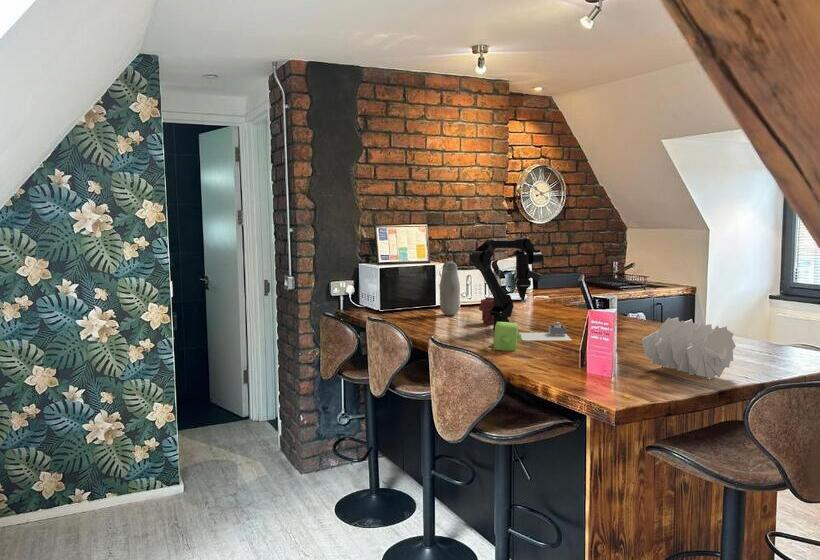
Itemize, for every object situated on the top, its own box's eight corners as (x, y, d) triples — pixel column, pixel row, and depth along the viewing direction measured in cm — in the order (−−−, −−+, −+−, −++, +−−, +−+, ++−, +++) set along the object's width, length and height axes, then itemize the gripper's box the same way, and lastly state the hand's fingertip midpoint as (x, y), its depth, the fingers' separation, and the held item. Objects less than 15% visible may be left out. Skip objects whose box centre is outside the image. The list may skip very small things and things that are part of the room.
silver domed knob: (550, 335, 274) (550, 323, 273) (548, 333, 280) (548, 321, 280) (566, 335, 273) (566, 323, 273) (563, 333, 280) (563, 321, 279)
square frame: (550, 334, 274) (550, 328, 273) (548, 331, 280) (548, 325, 280) (566, 334, 273) (566, 328, 273) (563, 331, 280) (564, 325, 279)
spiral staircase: (667, 375, 224) (732, 389, 202) (633, 359, 216) (697, 371, 194) (682, 326, 227) (748, 334, 204) (649, 308, 219) (714, 314, 197)
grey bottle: (436, 314, 338) (436, 261, 335) (454, 313, 342) (453, 260, 339) (445, 317, 329) (445, 262, 326) (463, 315, 333) (463, 261, 330)
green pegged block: (519, 355, 243) (520, 330, 242) (492, 353, 245) (494, 328, 244) (521, 344, 261) (522, 321, 259) (496, 342, 262) (497, 319, 261)
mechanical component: (498, 321, 314) (501, 325, 304) (478, 321, 315) (479, 325, 305) (498, 296, 313) (501, 299, 303) (478, 296, 313) (479, 299, 303)
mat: (522, 341, 265) (522, 340, 265) (518, 334, 282) (518, 332, 282) (572, 341, 264) (572, 340, 264) (565, 334, 281) (565, 332, 280)
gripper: (542, 266, 286) (542, 301, 288) (538, 263, 305) (537, 296, 306) (516, 266, 287) (516, 301, 289) (514, 263, 306) (514, 296, 307)
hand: (522, 299), depth 298 cm, fingers open, 9 cm apart
